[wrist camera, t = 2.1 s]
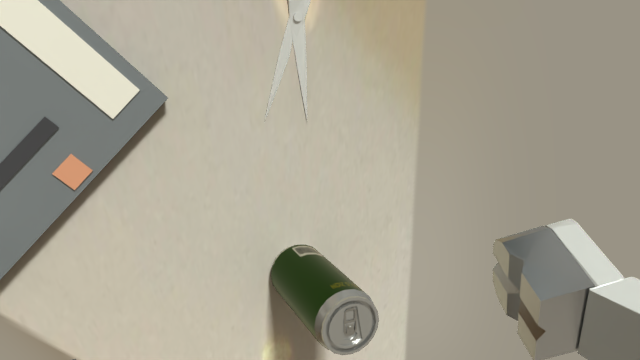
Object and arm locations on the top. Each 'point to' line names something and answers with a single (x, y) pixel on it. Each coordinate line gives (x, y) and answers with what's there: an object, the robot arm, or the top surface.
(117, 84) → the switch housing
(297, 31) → the scissors
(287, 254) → the guarana soda can
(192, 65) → the top surface
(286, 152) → the top surface
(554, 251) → the robot arm
